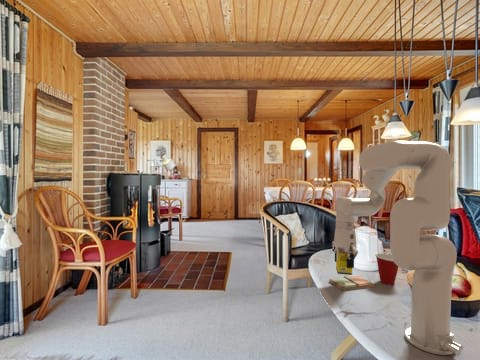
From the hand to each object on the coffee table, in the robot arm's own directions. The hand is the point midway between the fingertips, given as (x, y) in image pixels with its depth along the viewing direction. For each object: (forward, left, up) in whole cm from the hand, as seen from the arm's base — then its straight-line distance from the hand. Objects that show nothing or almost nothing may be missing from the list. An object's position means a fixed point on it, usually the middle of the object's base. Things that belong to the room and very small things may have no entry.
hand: (343, 264), depth 125 cm
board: (0, -4, -9) cm, 10 cm away
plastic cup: (-2, -22, -9) cm, 24 cm away
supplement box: (0, 0, -4) cm, 4 cm away
